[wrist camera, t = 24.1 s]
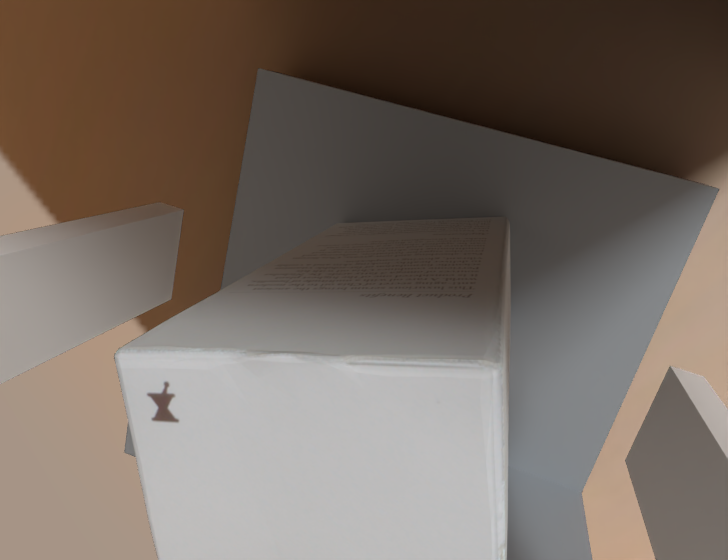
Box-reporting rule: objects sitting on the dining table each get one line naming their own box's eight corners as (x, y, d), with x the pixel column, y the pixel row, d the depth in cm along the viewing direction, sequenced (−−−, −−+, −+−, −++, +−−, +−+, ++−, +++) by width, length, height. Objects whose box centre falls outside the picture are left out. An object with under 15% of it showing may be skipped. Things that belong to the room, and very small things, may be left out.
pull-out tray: (276, 71, 20) (173, 49, 14) (704, 183, 18) (797, 214, 12) (217, 395, 25) (120, 481, 19) (553, 523, 22) (565, 672, 16)
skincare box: (347, 334, 21) (146, 574, 10) (336, 220, 20) (98, 344, 9) (516, 337, 19) (509, 631, 8) (514, 213, 18) (503, 353, 7)
